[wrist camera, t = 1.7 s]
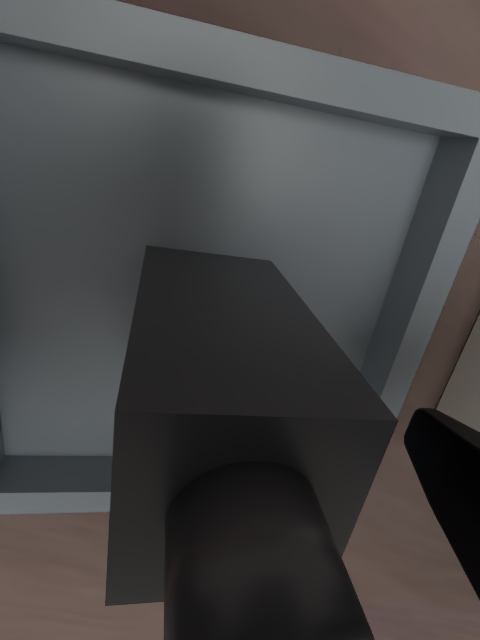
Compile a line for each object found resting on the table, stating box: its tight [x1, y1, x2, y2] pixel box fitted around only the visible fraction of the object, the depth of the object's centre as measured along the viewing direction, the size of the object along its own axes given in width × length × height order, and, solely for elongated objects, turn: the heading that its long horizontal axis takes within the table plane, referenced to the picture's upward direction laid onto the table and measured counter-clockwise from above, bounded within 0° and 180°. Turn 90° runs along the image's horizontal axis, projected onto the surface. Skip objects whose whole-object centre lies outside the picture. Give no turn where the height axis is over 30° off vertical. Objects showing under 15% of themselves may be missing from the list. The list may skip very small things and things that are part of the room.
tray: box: [0, 0, 480, 514], centre depth 13 cm, size 15×15×2 cm
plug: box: [105, 245, 398, 640], centre depth 9 cm, size 4×4×10 cm
